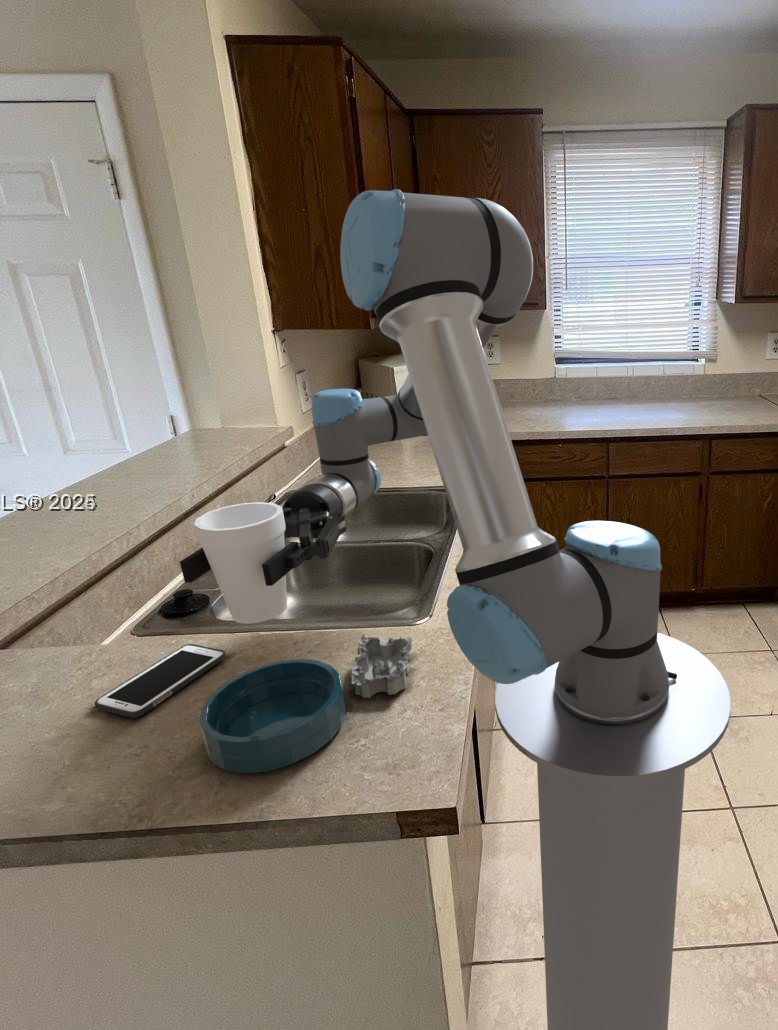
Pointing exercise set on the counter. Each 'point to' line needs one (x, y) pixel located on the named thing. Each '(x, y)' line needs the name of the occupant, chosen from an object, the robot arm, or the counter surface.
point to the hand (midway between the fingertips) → (225, 573)
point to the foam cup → (245, 557)
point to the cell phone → (159, 680)
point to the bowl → (272, 715)
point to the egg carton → (381, 666)
